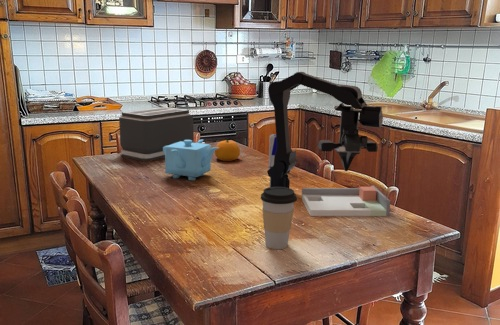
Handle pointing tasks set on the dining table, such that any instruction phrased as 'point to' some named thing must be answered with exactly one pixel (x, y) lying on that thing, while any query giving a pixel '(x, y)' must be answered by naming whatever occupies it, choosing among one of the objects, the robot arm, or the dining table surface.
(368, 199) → the brick block
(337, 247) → the dining table surface
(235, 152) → the fruit
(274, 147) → the beverage can
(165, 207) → the dining table surface
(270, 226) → the coffee cup
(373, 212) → the board
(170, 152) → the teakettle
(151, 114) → the toaster
